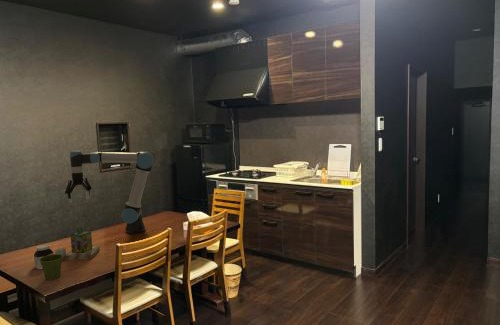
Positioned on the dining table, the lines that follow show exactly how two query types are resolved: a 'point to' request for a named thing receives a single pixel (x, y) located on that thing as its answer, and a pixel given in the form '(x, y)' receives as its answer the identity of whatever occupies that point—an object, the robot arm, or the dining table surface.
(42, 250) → the spread jar
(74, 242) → the chalk box
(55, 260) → the plant pot
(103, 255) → the dining table surface
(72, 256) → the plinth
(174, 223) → the dining table surface
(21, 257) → the dining table surface
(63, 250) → the grey rounded cylinder
